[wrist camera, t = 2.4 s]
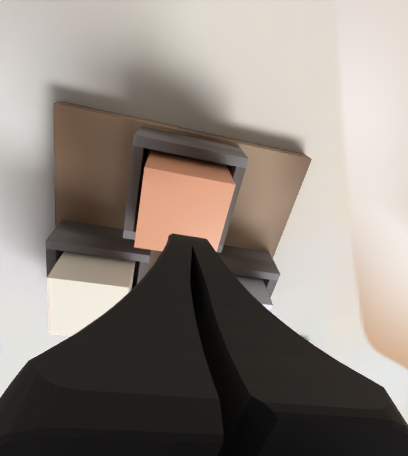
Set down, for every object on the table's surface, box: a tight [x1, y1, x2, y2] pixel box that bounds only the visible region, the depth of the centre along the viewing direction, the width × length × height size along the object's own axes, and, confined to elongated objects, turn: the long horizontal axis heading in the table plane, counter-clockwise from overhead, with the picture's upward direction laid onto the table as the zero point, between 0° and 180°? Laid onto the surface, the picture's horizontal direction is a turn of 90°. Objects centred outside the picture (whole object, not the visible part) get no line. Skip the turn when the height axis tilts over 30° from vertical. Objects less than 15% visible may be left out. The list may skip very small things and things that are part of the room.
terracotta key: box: [134, 150, 236, 252], centre depth 15 cm, size 4×4×3 cm
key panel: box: [46, 102, 311, 297], centre depth 18 cm, size 14×13×4 cm
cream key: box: [47, 251, 136, 336], centre depth 17 cm, size 4×4×3 cm
